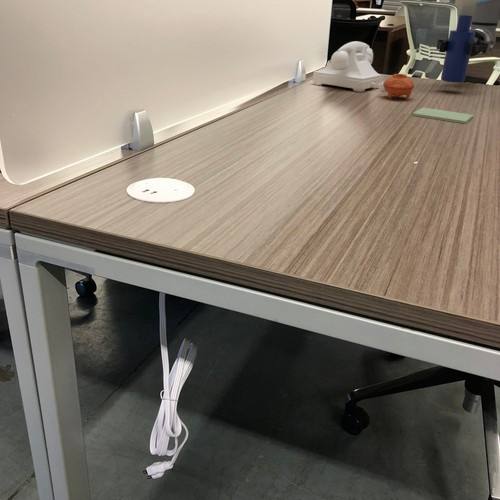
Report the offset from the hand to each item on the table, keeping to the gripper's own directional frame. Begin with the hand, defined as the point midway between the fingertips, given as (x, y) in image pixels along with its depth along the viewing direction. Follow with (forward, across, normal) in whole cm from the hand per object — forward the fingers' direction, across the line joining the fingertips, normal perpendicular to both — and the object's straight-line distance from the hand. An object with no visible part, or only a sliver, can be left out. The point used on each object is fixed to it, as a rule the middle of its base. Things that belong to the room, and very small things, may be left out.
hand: (454, 48), depth 137 cm
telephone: (+5, +25, -12) cm, 28 cm away
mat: (+29, -7, -12) cm, 32 cm away
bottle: (-5, 0, -9) cm, 10 cm away
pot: (+15, +9, -12) cm, 21 cm away
